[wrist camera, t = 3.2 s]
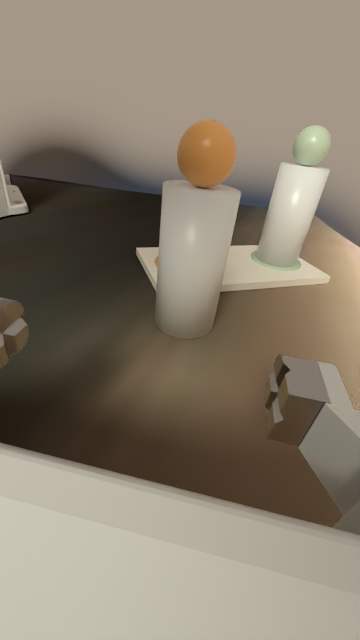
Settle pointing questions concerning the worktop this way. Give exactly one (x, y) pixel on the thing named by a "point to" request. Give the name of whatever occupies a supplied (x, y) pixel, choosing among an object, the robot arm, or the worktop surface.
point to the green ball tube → (295, 199)
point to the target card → (246, 270)
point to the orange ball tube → (196, 232)
